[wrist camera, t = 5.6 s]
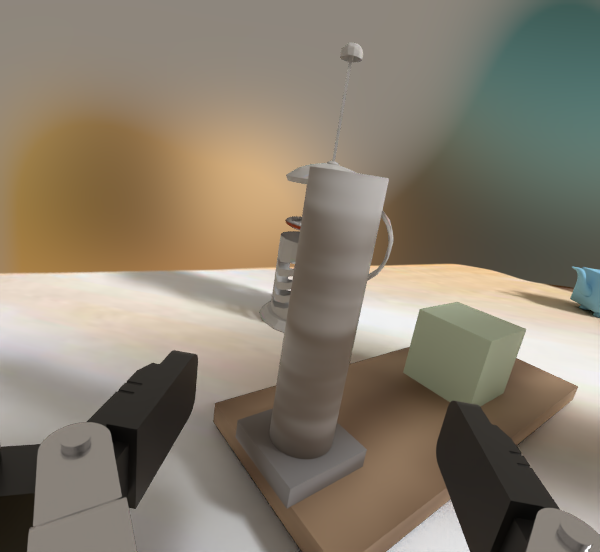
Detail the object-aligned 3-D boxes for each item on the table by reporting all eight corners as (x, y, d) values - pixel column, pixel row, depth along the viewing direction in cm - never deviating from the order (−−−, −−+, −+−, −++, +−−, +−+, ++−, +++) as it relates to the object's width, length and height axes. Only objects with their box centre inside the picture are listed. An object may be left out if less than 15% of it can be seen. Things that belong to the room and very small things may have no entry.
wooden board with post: (572, 399, 28) (647, 222, 25) (327, 599, 12) (430, 181, 9) (456, 343, 36) (500, 199, 32) (210, 422, 20) (235, 155, 16)
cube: (503, 393, 25) (526, 329, 24) (467, 413, 22) (491, 341, 21) (440, 359, 29) (457, 301, 28) (403, 372, 26) (419, 309, 25)
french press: (280, 293, 43) (314, 59, 36) (377, 318, 40) (434, 67, 33) (242, 321, 34) (277, 14, 27) (364, 356, 31) (439, 20, 24)
